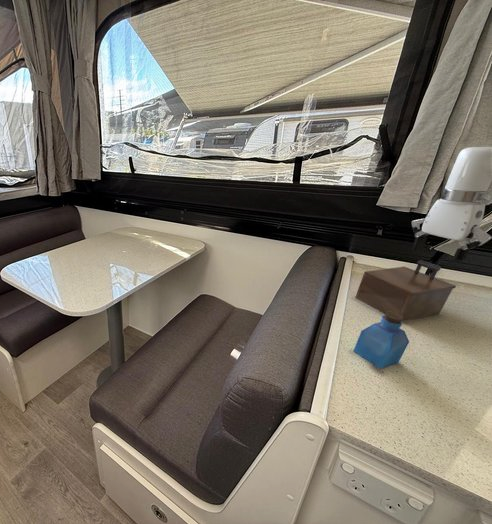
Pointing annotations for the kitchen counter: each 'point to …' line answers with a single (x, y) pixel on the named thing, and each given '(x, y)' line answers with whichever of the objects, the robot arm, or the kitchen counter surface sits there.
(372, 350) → the perfume bottle
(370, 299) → the chest
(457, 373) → the kitchen counter surface
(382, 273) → the lid
